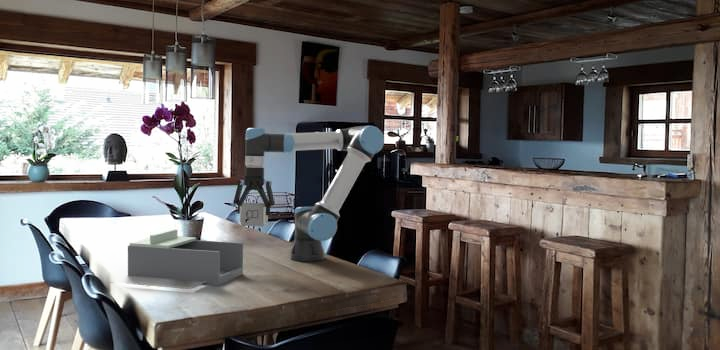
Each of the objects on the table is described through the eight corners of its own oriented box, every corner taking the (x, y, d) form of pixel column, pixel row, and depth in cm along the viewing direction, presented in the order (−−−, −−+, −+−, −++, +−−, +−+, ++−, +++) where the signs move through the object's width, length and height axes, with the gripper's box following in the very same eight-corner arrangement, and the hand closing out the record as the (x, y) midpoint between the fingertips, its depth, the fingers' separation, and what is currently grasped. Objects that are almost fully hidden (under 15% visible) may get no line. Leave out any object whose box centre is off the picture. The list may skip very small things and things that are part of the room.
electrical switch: (240, 226, 233) (241, 202, 234) (243, 225, 239) (244, 202, 239) (263, 226, 233) (264, 203, 234) (266, 226, 238) (266, 203, 239)
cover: (196, 240, 231) (196, 230, 231) (168, 248, 212) (168, 237, 212) (160, 237, 235) (160, 227, 234) (129, 245, 216) (129, 235, 215)
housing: (242, 274, 227) (243, 243, 226) (218, 285, 208) (218, 251, 207) (158, 267, 235) (158, 237, 235) (127, 278, 216) (127, 245, 216)
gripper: (224, 166, 234) (224, 222, 235) (277, 168, 228) (275, 225, 229) (233, 165, 241) (232, 220, 242) (284, 167, 236) (283, 223, 237)
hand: (253, 222), depth 236 cm, fingers closed on electrical switch, 9 cm apart
